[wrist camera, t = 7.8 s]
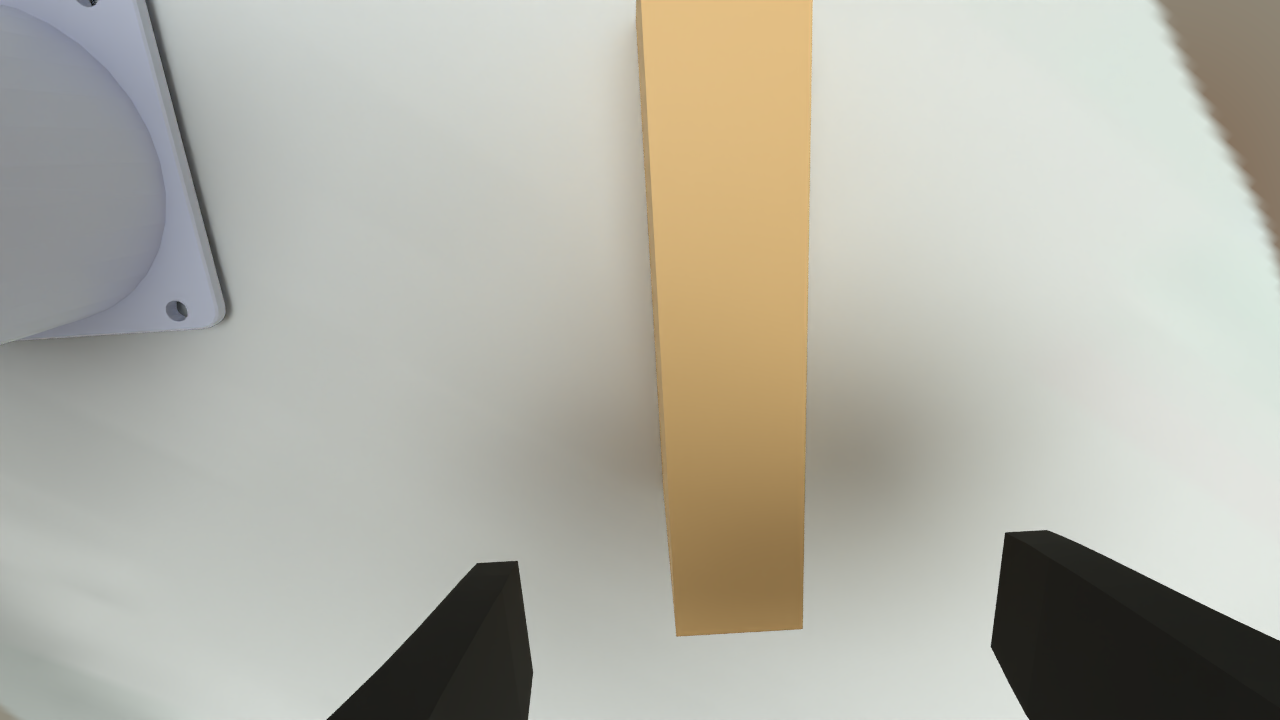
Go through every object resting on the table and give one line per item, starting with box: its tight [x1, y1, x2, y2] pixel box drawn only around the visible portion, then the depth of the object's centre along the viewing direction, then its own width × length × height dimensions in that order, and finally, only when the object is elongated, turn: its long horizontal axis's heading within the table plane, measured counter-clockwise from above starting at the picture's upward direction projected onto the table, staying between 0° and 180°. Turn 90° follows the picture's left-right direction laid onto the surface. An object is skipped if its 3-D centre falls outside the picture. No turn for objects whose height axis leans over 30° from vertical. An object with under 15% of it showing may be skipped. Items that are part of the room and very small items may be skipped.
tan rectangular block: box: [636, 0, 813, 636], centre depth 14 cm, size 2×12×6 cm, turn 4°
